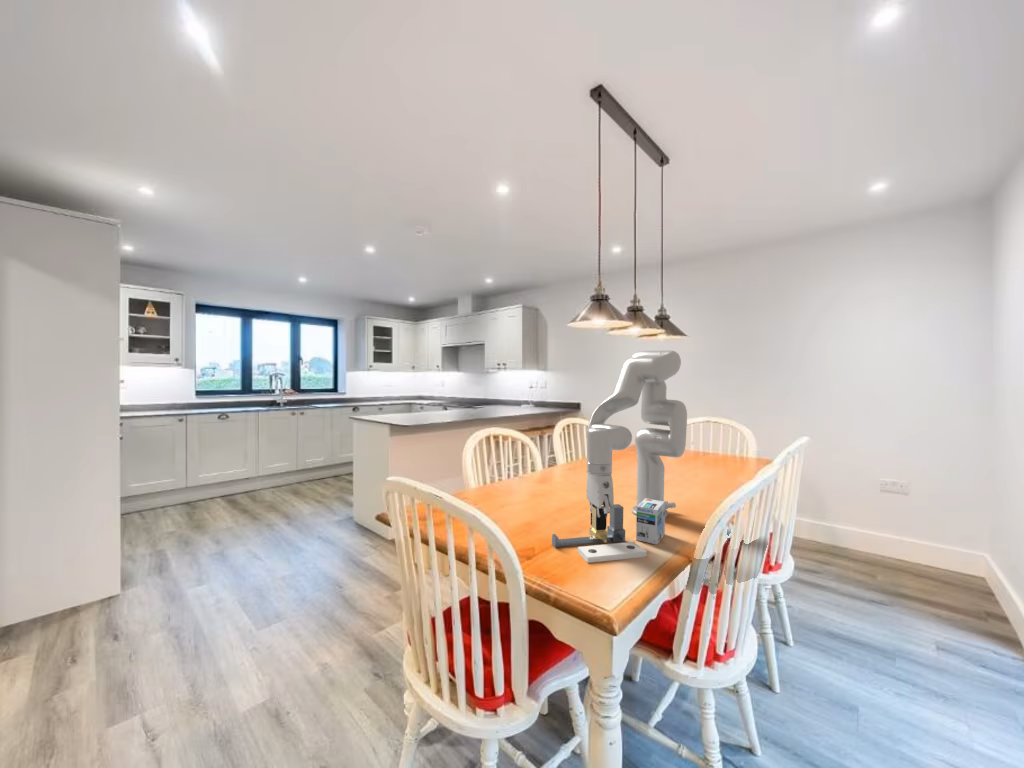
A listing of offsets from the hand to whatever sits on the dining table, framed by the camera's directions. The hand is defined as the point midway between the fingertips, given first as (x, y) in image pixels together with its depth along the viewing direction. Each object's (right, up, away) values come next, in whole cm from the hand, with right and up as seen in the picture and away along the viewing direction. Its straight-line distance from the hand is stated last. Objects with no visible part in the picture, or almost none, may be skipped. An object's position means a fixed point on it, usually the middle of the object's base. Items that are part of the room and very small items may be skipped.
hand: (598, 526), depth 131 cm
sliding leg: (0, -3, -1) cm, 3 cm away
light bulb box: (+18, -5, +4) cm, 19 cm away
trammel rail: (-3, -5, -2) cm, 6 cm away
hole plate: (+2, -5, -9) cm, 10 cm away
